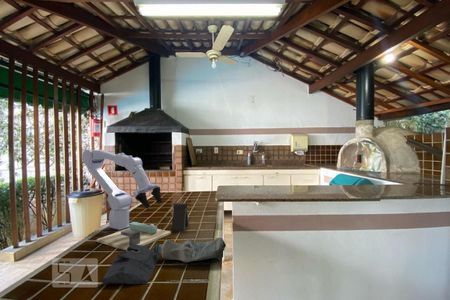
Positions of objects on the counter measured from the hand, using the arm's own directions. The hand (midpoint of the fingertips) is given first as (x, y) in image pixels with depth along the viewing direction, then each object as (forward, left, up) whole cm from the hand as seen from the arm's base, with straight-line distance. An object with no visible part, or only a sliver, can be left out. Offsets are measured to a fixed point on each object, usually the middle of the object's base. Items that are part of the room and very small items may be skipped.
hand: (154, 205), depth 116 cm
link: (-2, -5, -11) cm, 12 cm away
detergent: (+33, -15, -12) cm, 39 cm away
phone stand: (+8, +9, -12) cm, 17 cm away
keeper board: (-1, -11, -12) cm, 16 cm away
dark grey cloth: (+21, -30, -13) cm, 39 cm away
